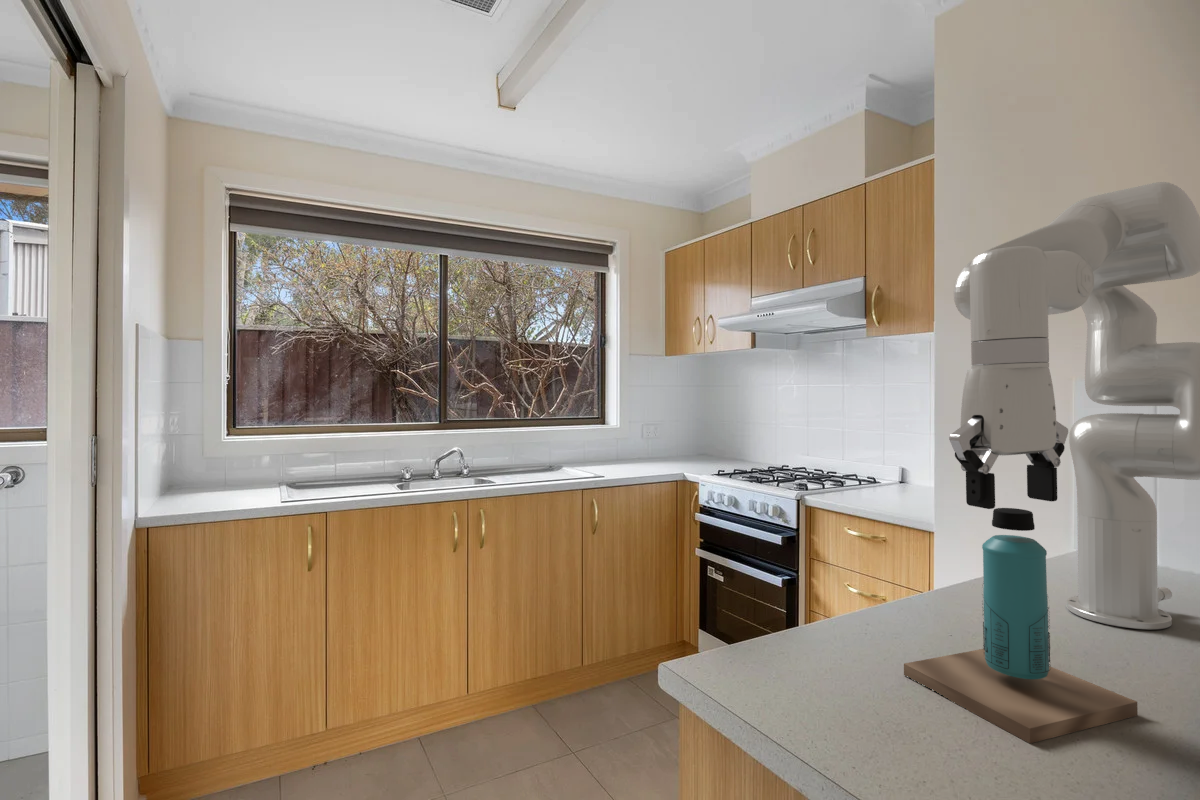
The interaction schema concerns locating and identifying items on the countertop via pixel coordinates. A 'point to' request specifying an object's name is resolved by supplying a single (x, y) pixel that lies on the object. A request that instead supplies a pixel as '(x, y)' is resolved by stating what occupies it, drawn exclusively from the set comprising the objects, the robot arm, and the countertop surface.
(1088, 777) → the countertop surface
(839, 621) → the countertop surface
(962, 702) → the walnut board
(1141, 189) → the robot arm
